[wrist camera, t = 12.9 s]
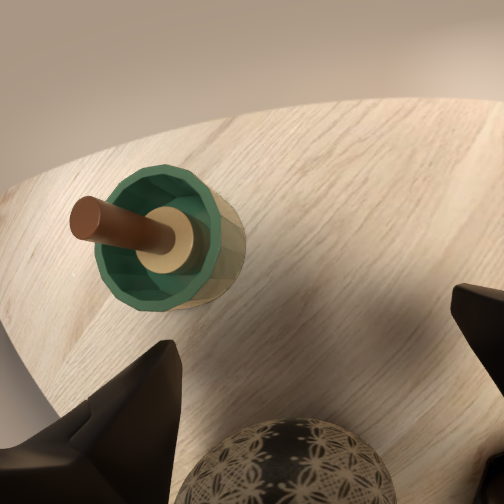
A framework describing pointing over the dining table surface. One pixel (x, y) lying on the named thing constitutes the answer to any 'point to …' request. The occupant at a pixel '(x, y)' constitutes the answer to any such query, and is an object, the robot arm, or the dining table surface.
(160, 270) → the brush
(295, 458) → the decorative egg
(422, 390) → the dining table surface
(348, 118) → the dining table surface
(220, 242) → the green round pot
